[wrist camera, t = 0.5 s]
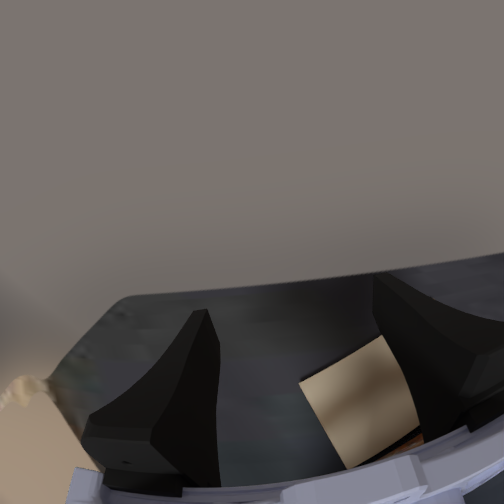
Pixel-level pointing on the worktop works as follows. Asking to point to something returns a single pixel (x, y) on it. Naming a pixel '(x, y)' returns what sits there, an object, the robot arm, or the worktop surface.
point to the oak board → (362, 402)
